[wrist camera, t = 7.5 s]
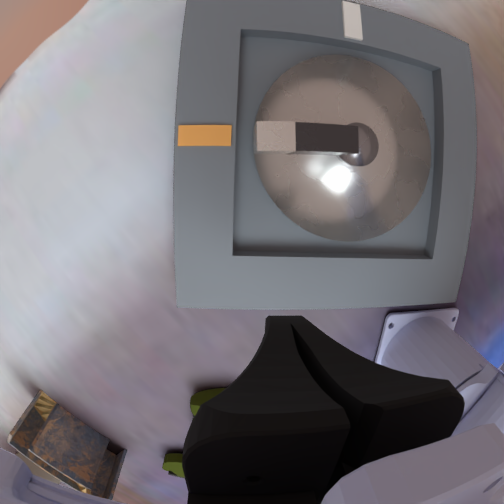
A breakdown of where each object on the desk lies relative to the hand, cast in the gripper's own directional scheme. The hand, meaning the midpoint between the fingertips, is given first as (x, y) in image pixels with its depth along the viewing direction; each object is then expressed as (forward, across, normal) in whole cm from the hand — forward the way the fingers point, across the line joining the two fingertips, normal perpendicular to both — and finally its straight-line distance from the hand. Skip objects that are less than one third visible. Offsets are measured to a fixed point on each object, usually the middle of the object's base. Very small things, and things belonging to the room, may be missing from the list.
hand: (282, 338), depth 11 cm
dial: (+9, -5, -8) cm, 13 cm away
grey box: (+11, +19, +19) cm, 29 cm away
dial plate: (+10, -5, -8) cm, 14 cm away
